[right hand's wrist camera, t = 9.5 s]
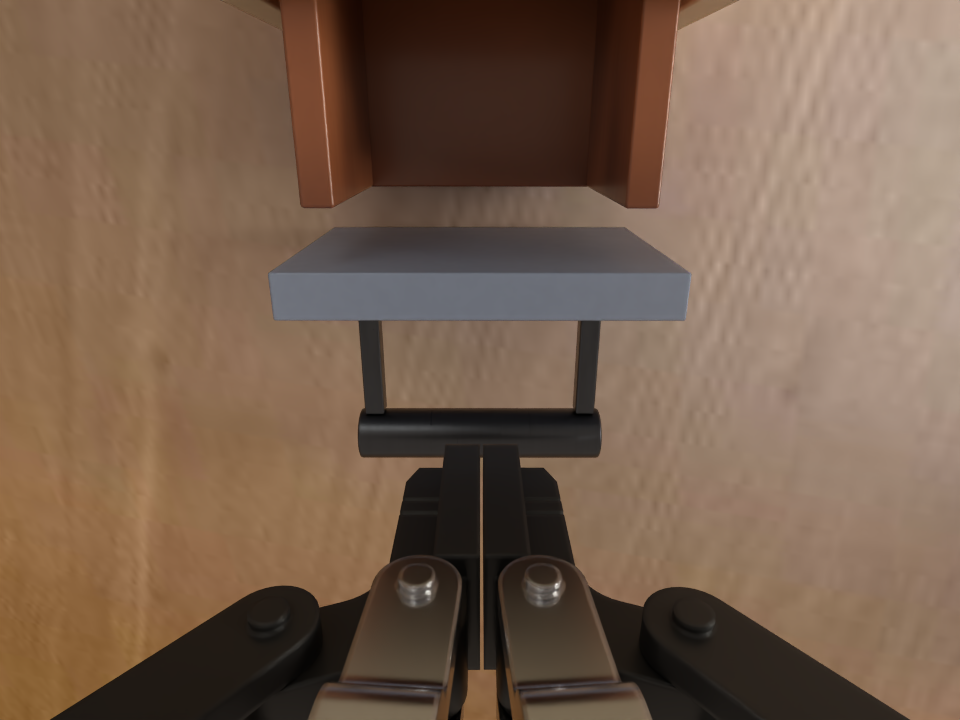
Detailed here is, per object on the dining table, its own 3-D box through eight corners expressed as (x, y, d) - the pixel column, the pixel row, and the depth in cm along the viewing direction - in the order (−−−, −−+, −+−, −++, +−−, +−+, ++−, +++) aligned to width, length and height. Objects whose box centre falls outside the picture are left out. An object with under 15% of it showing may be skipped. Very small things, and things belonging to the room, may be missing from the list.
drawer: (610, 404, 23) (661, 513, 17) (349, 404, 23) (297, 513, 17) (693, -568, 14) (876, -1161, 8) (266, -568, 14) (83, -1160, 8)
